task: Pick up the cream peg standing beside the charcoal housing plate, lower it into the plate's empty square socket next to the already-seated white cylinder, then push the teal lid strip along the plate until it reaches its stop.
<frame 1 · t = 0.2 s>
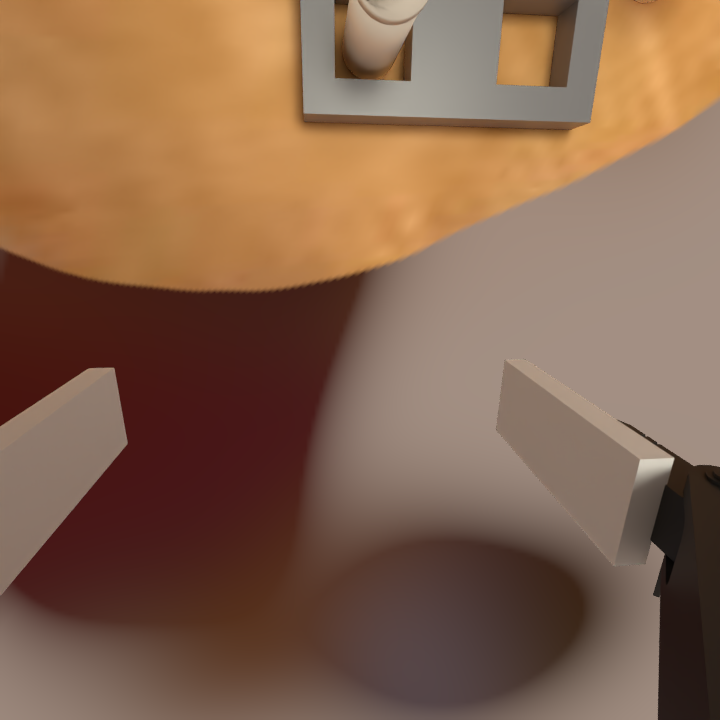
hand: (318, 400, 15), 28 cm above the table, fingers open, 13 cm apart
housing: (448, 2, 35), on the table
white cylinder: (369, 49, 35), resting in housing
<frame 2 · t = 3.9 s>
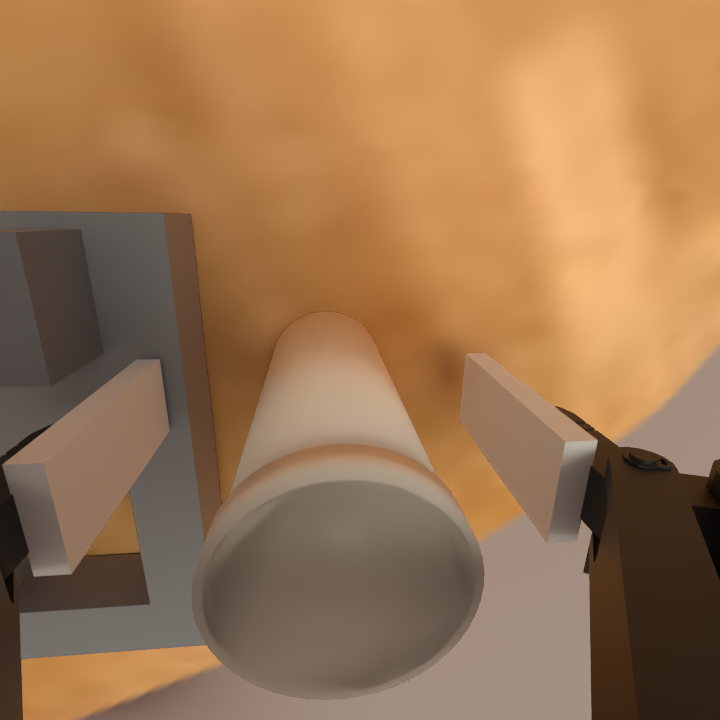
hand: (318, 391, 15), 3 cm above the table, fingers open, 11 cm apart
cream peg: (326, 363, 18), on the table
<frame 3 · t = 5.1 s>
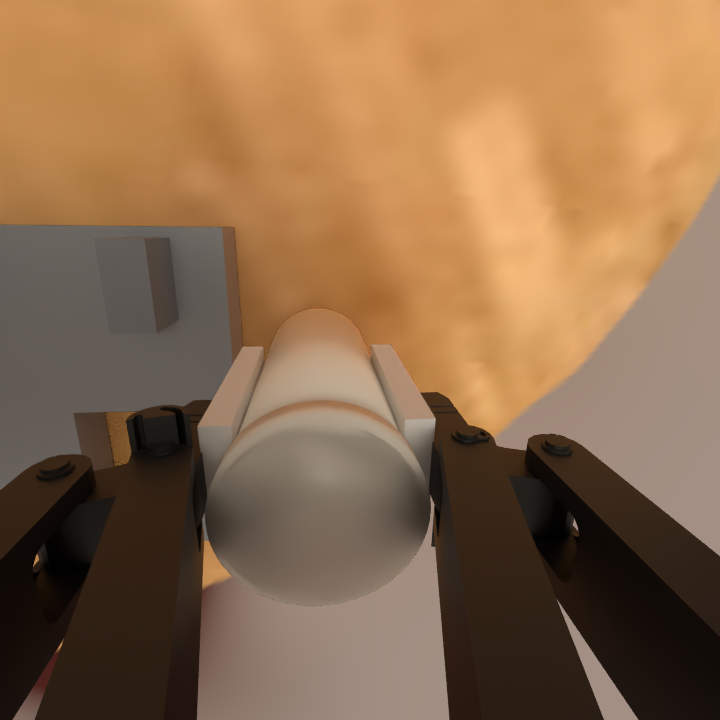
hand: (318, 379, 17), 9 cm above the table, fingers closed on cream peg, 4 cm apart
housing: (37, 385, 25), on the table
cream peg: (318, 354, 20), point 5 cm above the table, touching gripper
when the fingers open (4 cm above the table, at t = 8.2 s): cream peg stays where it is, resting in housing.
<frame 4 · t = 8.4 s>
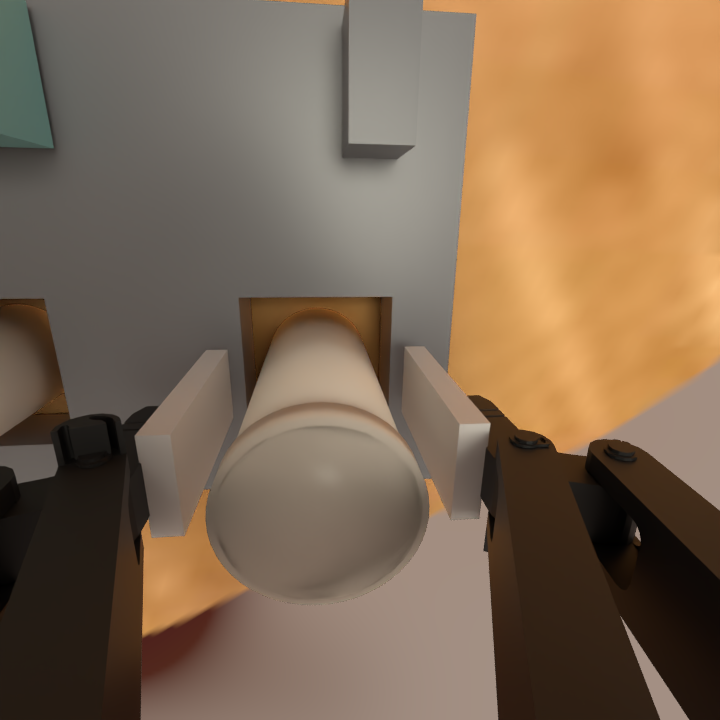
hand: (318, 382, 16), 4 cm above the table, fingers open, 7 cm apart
housing: (167, 274, 19), on the table
cream peg: (317, 353, 21), resting in housing
white cylinder: (27, 353, 19), resting in housing
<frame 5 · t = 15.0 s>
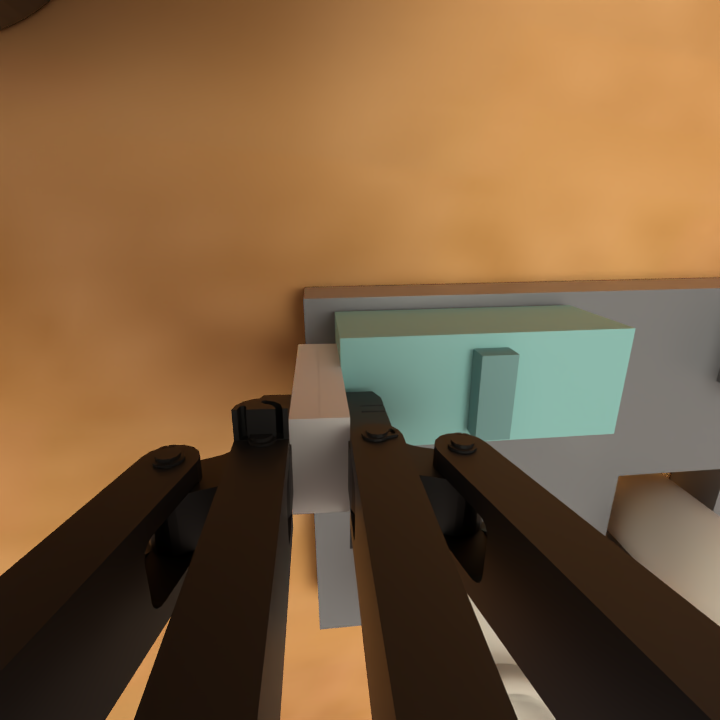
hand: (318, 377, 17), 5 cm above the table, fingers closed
housing: (526, 441, 24), on the table
cream peg: (621, 490, 26), resting in housing
lid: (471, 373, 16), point 6 cm above the table, slide at 1.3 cm, touching gripper
white cylinder: (411, 501, 25), resting in housing
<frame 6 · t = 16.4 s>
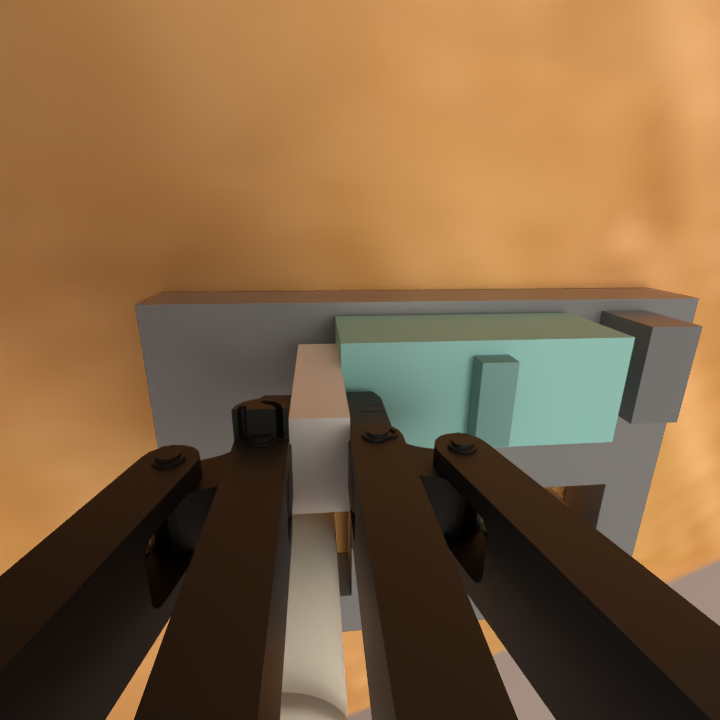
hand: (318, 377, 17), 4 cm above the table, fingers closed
housing: (410, 453, 23), on the table
lid: (470, 379, 16), point 6 cm above the table, slide at 7.8 cm, touching gripper
white cylinder: (294, 513, 24), resting in housing
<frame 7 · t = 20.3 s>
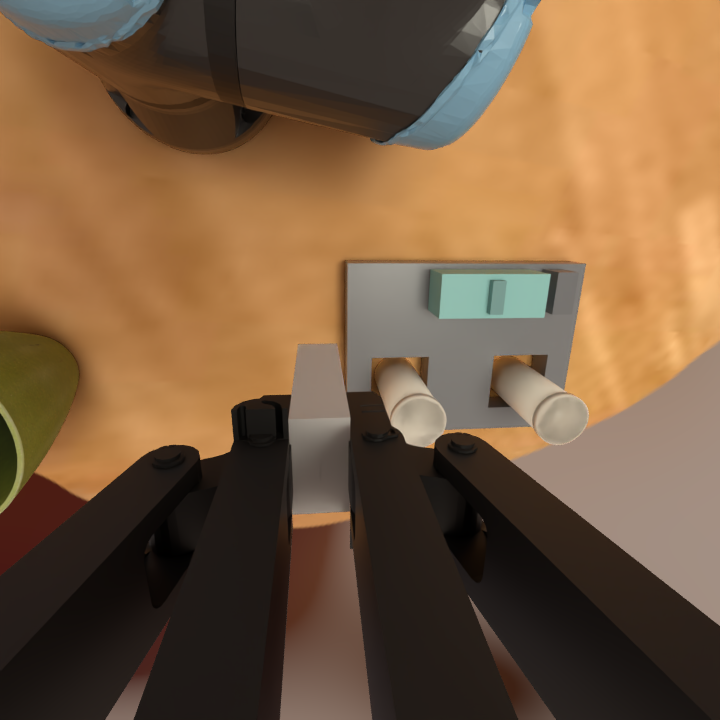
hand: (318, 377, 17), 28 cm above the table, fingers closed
housing: (453, 343, 47), on the table
flower pot: (44, 368, 44), on the table
cream peg: (505, 374, 49), resting in housing
lid: (488, 293, 40), point 6 cm above the table, slide at 8.0 cm
white cylinder: (394, 374, 48), resting in housing
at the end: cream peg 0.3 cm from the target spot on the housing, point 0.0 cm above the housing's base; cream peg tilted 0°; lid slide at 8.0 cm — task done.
